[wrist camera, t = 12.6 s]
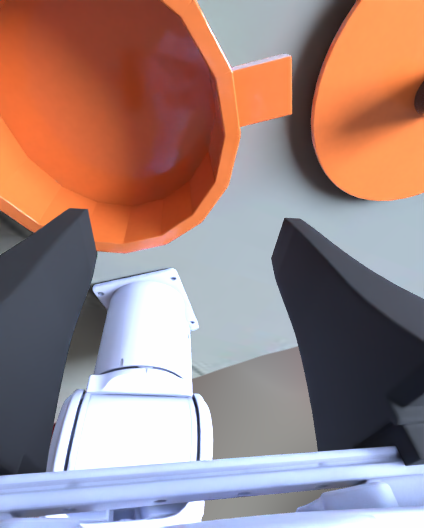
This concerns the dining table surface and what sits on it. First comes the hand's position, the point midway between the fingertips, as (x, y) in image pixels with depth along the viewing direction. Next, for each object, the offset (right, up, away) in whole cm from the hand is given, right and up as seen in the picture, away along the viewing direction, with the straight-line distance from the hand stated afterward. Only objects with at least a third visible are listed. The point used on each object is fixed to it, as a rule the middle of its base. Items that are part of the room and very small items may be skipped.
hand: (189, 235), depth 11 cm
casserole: (-5, +8, +6) cm, 11 cm away
